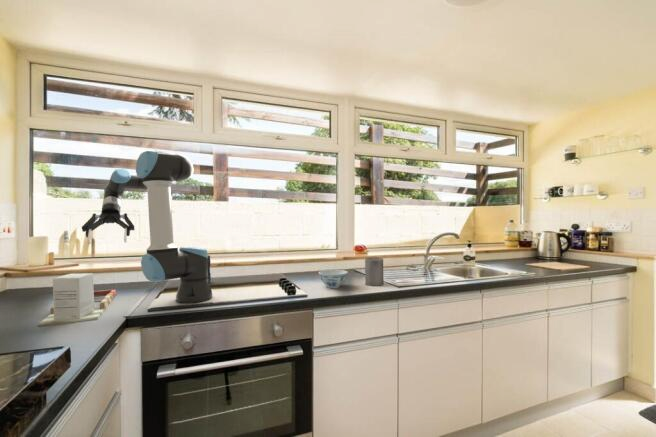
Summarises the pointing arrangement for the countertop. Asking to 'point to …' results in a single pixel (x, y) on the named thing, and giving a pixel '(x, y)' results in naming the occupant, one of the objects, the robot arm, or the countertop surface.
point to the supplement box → (73, 296)
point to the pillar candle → (374, 271)
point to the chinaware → (333, 277)
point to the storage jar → (209, 270)
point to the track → (99, 296)
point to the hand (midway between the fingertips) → (107, 241)
